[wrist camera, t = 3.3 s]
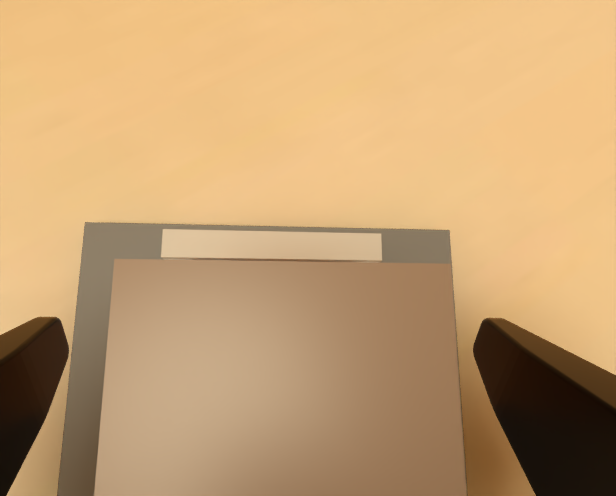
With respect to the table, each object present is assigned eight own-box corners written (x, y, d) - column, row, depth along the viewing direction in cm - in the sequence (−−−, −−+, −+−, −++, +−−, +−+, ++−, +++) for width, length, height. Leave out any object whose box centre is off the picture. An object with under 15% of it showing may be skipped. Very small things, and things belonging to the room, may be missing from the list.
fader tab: (337, 405, 17) (467, 505, 6) (203, 407, 16) (91, 518, 6) (336, 315, 17) (451, 263, 7) (207, 314, 17) (114, 258, 6)
